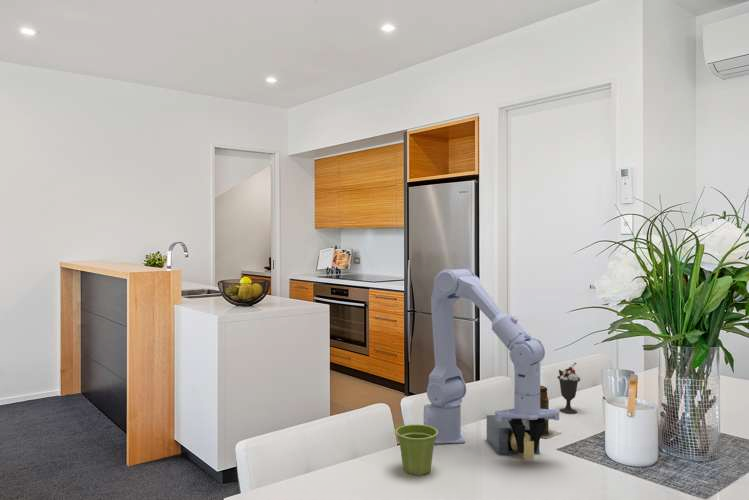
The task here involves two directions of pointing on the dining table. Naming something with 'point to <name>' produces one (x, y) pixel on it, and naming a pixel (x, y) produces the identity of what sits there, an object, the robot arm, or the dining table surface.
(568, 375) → the sundae
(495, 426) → the housing
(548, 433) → the condiment
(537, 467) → the dining table surface
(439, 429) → the robot arm
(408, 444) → the plant pot
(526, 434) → the gold stepped cylinder
